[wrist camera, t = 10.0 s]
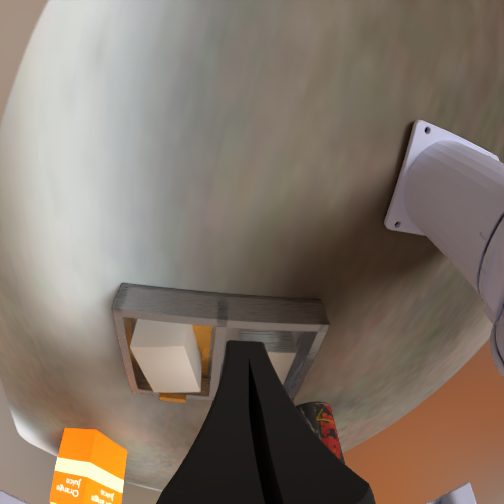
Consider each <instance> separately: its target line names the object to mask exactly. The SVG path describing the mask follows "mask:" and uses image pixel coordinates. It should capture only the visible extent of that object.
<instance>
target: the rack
mask: <svg viewBox="0 0 504 504" xmlns="http://www.w3.org/2000/svg"><path fill="white" fill-rule="evenodd" d="M112 312H113V317H114V322H115V327H116V332H117V337H118V341H119V346H120V350H121V354H122V358H123V362H124V366H125V370H126V374H127V378H128V381H129V385H130V388H131V392H136V393H143V394H150V395H158V396H159V398H160V400H164V401H173V402H183V403H186V399H196V400H210V401H213V400H214V397H215V394H216V392H217V389H218V386H219V382H220V379H221V375H222V368H223V361H224V355H225V348H226V342H227V341H229V340H238V341H256V342H263V343H264V345H265V348H266V351H267V353H268V356H269V358H270V360H271V363H272V365H273V367H274V369H275V371H276V373H277V375H278V377H279V379H280V381H281V383H282V385H283V386H284V388H285V390H286V392H287V394H288V395H289V397H290V399H291V400H292V402H293V400H294V398H295V396H296V394H297V392H298V390H299V388H300V386H301V384H302V382H303V380H304V378H305V376H306V374H307V372H308V370H309V368H310V366H311V364H312V362H313V360H314V358H315V356H316V354H317V352H318V350H319V348H320V345H321V343H322V341H323V339H324V337H325V335H326V332H327V330H328V328H329V326H330V324H329V321H328V318H327V316H326V313H325V310H324V307H323V305H322V302H321V300H313V299H296V298H280V297H265V296H251V295H238V294H226V293H214V292H203V291H193V290H182V289H173V288H163V287H154V286H145V285H136V284H128V283H122V284H121V286H120V289H119V291H118V294H117V296H116V298H115V301H114V303H113V306H112ZM137 319H145V320H153V321H162V322H171V323H181V324H191V325H192V327H193V330H194V334H195V337H196V341H197V344H198V348H199V351H200V355H201V358H202V369H201V391H200V392H175V393H165V392H154V391H153V390H152V388H151V386H150V384H149V383H148V381H147V379H146V377H145V375H144V374H143V372H142V370H141V368H140V366H139V364H138V362H137V360H136V359H135V357H134V355H133V353H132V351H131V349H130V344H131V340H132V337H133V333H134V330H135V326H136V323H137Z"/></svg>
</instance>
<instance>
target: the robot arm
mask: <svg viewBox="0 0 504 504" xmlns="http://www.w3.org/2000/svg"><path fill="white" fill-rule="evenodd" d="M426 127H427V132H426V133H425V128H426ZM396 222H398V224H397V225H395V223H396ZM384 225H385V226H386V228H387V229H389V230H395V231H401V232H406V233H412V234H418V235H424V236H426V237H427V238H428V239H429V240H430V241H431V242H432V243H433V244H434V245H435V246H436V247H437V248H438V249H439V250H440V251H441V252H442V253H443V254H444V255H445V256H446V257H447V258H448V259H449V261H450V262H451V263H452V264H453V265H454V266H455V267H456V268H457V269H458V270H459V272H460V273H461V274H462V275H463V276H464V277H465V278H466V280H467V281H468V282H469V283H470V284H471V285H472V286H473V288H474V289H475V290H476V291H477V292H478V294H479V295H480V296H481V297H482V298H483V300H484V302H485V308H484V313H485V314H486V316H487V317H488V318H489V320H490V321H491V322H492V324H493V328H492V331H491V336H490V349H491V354H492V358H493V361H494V363H495V366H496V367H497V369H498V371H499V372H500V374H501V375H502V376H503V377H504V164H503V163H501V162H499V158H498V157H497V156H495V155H494V154H492V153H490V152H488V151H486V150H484V149H483V148H481V147H479V146H477V145H475V144H473V143H471V142H469V141H467V140H465V139H463V138H461V137H459V136H457V135H454V134H452V133H450V132H448V131H446V130H443V129H441V128H439V127H437V126H434V125H432V124H430V123H427V122H425V121H422V120H416V121H415V122H414V125H413V128H412V132H411V136H410V140H409V144H408V147H407V151H406V154H405V158H404V161H403V165H402V168H401V172H400V175H399V178H398V181H397V184H396V188H395V191H394V194H393V197H392V200H391V203H390V206H389V209H388V212H387V215H386V217H385V220H384ZM0 504H29V503H27V502H25V501H23V500H21V499H18V498H17V497H14V496H12V495H10V494H8V493H6V492H5V491H3V490H0ZM156 504H376V503H375V500H374V495H373V493H372V490H371V488H370V486H369V483H367V482H366V481H365V480H364V479H362V478H361V477H359V476H358V475H357V474H356V473H354V472H353V471H352V470H351V469H350V468H348V467H347V466H346V465H345V464H344V463H343V462H342V461H341V460H340V459H339V458H338V457H337V456H336V455H335V454H334V453H333V452H332V451H331V450H330V449H329V448H328V447H327V446H326V445H325V444H324V443H323V442H322V441H321V440H320V438H319V437H318V436H317V435H316V434H315V432H314V431H313V430H312V429H311V428H310V426H309V425H308V424H307V422H306V421H305V420H304V418H303V417H302V415H301V414H300V413H299V411H298V410H297V408H296V406H295V405H294V403H293V402H292V400H291V399H290V397H289V395H288V394H287V392H286V390H285V388H284V386H283V385H282V383H281V381H280V379H279V377H278V375H277V373H276V371H275V369H274V367H273V365H272V363H271V360H270V358H269V356H268V353H267V351H266V348H265V345H264V343H263V342H256V341H238V340H229V341H227V342H226V348H225V355H224V361H223V368H222V375H221V379H220V382H219V386H218V389H217V392H216V394H215V397H214V400H213V402H212V405H211V407H210V410H209V412H208V415H207V417H206V419H205V421H204V423H203V425H202V428H201V430H200V432H199V434H198V435H197V437H196V439H195V441H194V443H193V445H192V447H191V449H190V450H189V452H188V454H187V455H186V457H185V459H184V460H183V462H182V463H181V465H180V467H179V468H178V470H177V471H176V473H175V474H174V476H173V477H172V479H171V480H170V481H169V483H168V484H167V486H166V487H165V488H164V490H163V491H162V493H161V495H160V497H159V499H158V501H157V503H156ZM426 504H477V503H476V500H475V497H474V494H473V491H472V488H471V485H470V483H469V482H467V483H466V484H464V485H462V486H460V487H458V488H456V489H454V490H452V491H450V492H448V493H447V494H445V495H443V496H441V497H439V498H437V499H435V500H433V501H431V502H428V503H426Z"/></svg>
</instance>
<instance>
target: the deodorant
mask: <svg viewBox="0 0 504 504" xmlns="http://www.w3.org/2000/svg"><path fill="white" fill-rule="evenodd" d="M296 408H297V410H298V411H299V413H300V414H301V415H302V417H303V418H304V420H305V421H306V422H307V424H308V425H309V426H310V428H311V429H312V430H313V431H314V432H315V434H316V435H317V436H318V437H319V438H320V440H321V441H322V442H323V443H324V444H325V445H326V446H327V447H328V448H329V449H330V450H331V451H332V452H333V453H334V454H335V455H336V456H337V457H338V458H339V459H340V460H341V461H342V462H343V463H344V464H345V462H344V458H343V454H342V450H341V446H340V442H339V438H338V434H337V430H336V426H335V422H334V418H333V414H332V410H331V407H330V405H329V404H328V403H324V402H310V403H305V404H301V405H298V406H296Z"/></svg>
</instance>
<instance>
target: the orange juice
mask: <svg viewBox="0 0 504 504" xmlns="http://www.w3.org/2000/svg"><path fill="white" fill-rule="evenodd" d="M126 456H127V450H125V449H123V448H122V447H120V446H119V445H117V444H116V443H114V442H113V441H111V440H110V439H109V438H107V437H106V436H104V435H103V434H102V433H100V432H99V431H97V430H91V429H74V428H65V430H64V434H63V438H62V442H61V446H60V450H59V454H58V457H57V462H56V466H55V473H54V478H53V483H52V489H51V495H50V500H49V501H50V504H121V499H122V492H123V483H124V471H125V463H126Z"/></svg>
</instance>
